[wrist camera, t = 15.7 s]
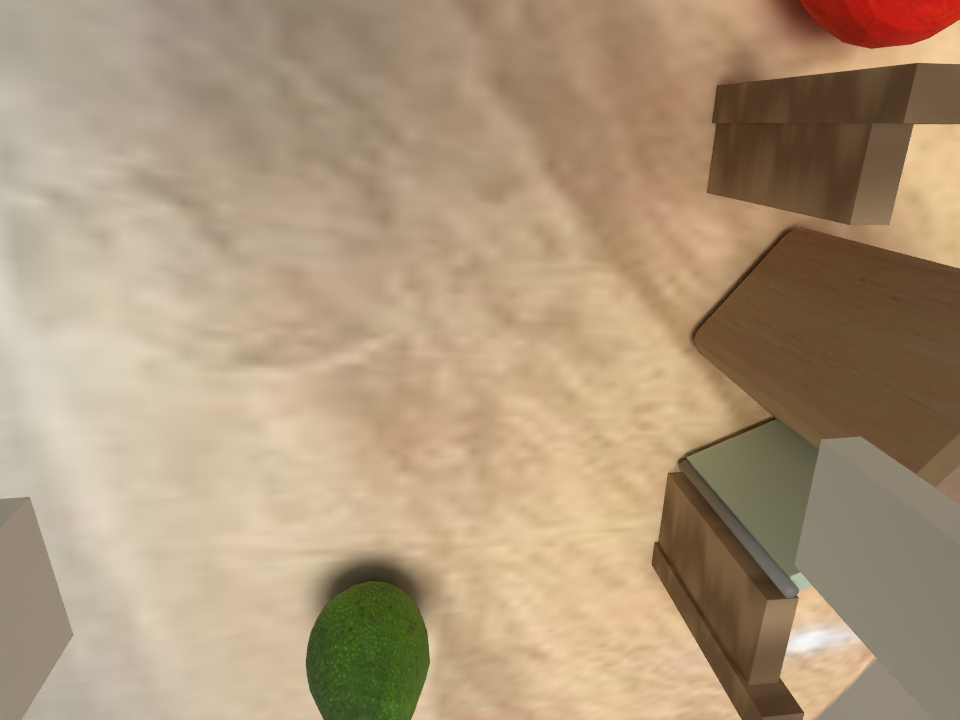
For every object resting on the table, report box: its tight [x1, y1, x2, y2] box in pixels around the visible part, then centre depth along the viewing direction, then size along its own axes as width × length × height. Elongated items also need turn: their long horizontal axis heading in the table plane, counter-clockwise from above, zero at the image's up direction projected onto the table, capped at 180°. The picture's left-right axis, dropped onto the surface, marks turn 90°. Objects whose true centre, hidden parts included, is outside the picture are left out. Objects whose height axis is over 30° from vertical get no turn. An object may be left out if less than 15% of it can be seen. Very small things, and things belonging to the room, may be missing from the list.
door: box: [679, 419, 819, 598], centre depth 38 cm, size 19×1×13 cm, turn 112°
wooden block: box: [694, 227, 960, 504], centre depth 33 cm, size 10×10×20 cm
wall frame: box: [652, 63, 960, 720], centre depth 35 cm, size 34×2×15 cm, turn 179°
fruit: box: [306, 581, 430, 720], centre depth 40 cm, size 8×8×12 cm
